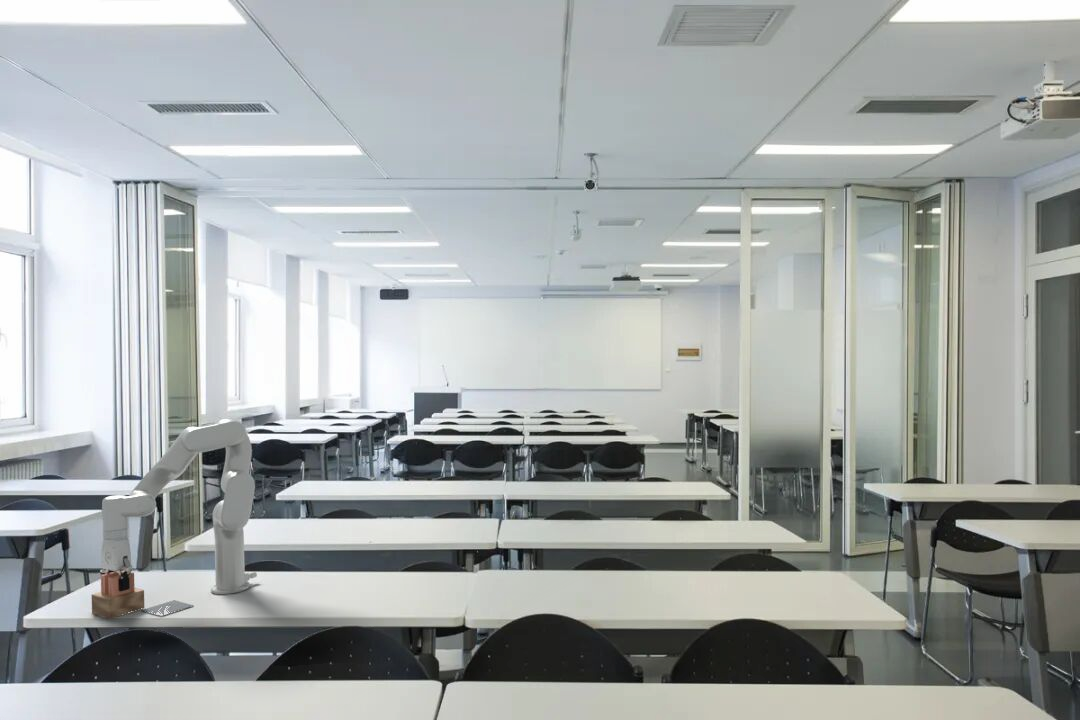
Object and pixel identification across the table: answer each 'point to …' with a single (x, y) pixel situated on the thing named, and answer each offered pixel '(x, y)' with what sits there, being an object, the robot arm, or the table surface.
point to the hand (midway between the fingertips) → (117, 588)
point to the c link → (115, 584)
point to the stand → (117, 603)
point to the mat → (173, 606)
